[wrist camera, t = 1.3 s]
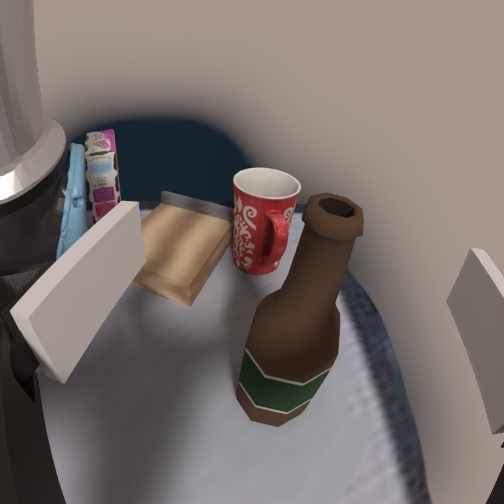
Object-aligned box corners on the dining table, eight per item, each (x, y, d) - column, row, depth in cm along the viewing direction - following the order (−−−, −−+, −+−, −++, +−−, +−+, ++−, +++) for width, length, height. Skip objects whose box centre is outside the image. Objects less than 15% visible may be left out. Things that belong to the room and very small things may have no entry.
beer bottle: (262, 356, 36) (308, 162, 21) (317, 390, 33) (412, 209, 18) (220, 401, 31) (238, 202, 16) (280, 442, 28) (381, 274, 13)
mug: (223, 241, 52) (229, 166, 44) (276, 240, 54) (290, 167, 46) (234, 299, 43) (243, 215, 34) (297, 295, 45) (321, 215, 36)
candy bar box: (128, 245, 49) (116, 150, 39) (99, 251, 47) (81, 156, 37) (122, 209, 57) (114, 127, 46) (97, 214, 55) (85, 132, 44)
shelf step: (112, 276, 43) (104, 243, 39) (165, 219, 55) (164, 190, 52) (190, 306, 41) (189, 273, 37) (233, 239, 53) (236, 208, 49)
